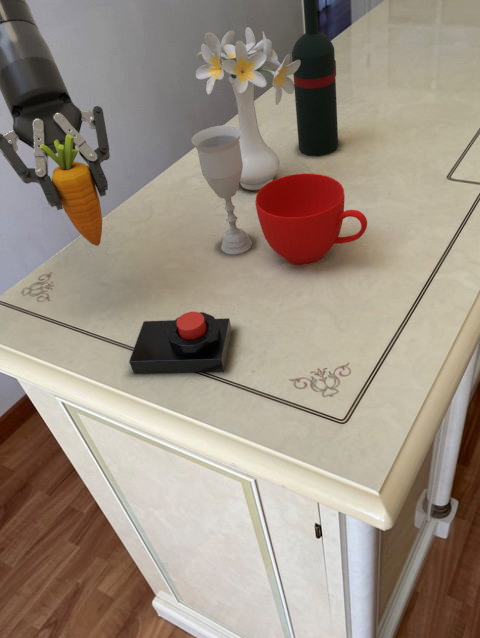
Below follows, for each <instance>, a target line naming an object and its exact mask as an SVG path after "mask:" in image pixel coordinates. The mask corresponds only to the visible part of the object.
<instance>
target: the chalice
mask: <svg viewBox="0 0 480 638" xmlns="http://www.w3.org/2000/svg"><path fill="white" fill-rule="evenodd" d="M240 135H241V130H240V127H238V126H235V125H229V124H228V125H225V124H224V125H216V126H211V127H207V128H205V129H202V130H199V131H198V132H196V133H195V134H194V135H193V136H192V137H191V143H192V145H193V146H194V147H195V149H196V152H197V155H198V158H199V159H198V160H199V165H200V169H201V173H202V177H204V180H205V181H206V182H207V183H206V184H208V186H209V188H211V190H212V191H213V192H214V194H215V195H216V196H217V197H218V199H219V198H220V199H224V203H225V207H224V211H225V212H226V213H227V217H226V219H225V221H226V222H228V224H229V229H228V230H226V232H225V233H224V235H223V237H222V241H221V246H220V248H221V251H222V252H223V253H225V254H227V255H240V254H243V253H245V252H247V251H248V250H250V249H251V247H252V246H253V241H252V240H251V239H250V238H249V236H248V235H247V233H246V231H244V230H243V228H239V227H237V225H236V224H237V220H238V217H237V216H236V214H235V213H234V211H235V208H236V207H235V205H234V204H233V202H232V197H234V196H235V195H236V194H237V191H238V188H239V185H240V179H241V174H242V168H243V163H242V156H241V150H240V144H239V141H240Z"/></svg>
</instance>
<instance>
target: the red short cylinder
mask: <svg viewBox="0 0 480 638" xmlns="http://www.w3.org/2000/svg"><path fill="white" fill-rule="evenodd" d="M178 317H179V318H178ZM178 317H177V318H178V319H177V318H176V319H177V322H176V324H177V328H178V331H179V334H180V336H181V337H182V338H184V339H186V340H190V339H196V338H199V337H201V336H203V335H204V334H205V332H206V330H207V327H206V323H205V319H204V316H203V315H202V314H201V313H199V312H198V311H188V312H184V313H183V314H181V315H180V316H178Z"/></svg>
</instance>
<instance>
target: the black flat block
mask: <svg viewBox="0 0 480 638" xmlns="http://www.w3.org/2000/svg"><path fill="white" fill-rule="evenodd" d="M199 313H201V314H202V315H203V316H204V319H205V323H206V327H207V330H206V332H205V334H204V335H203V336H201V337H199V338H196V339H190V340H186V339H184V338H182V337H181V336H180V334H179V331H178V328H177V324H176V322H177V319H178V318H179V317H180V316H178V317H177V318H175V319H171V320H167V319H166V320H144V321H143V322H142V325H141V328H140V329H139V330H140V331H139V332H138V335H137V339H136V341H135V345H134V347H133V350H132V352H131V356H130V359H129V361H128V363H129V365H130V368H131V370H132V372H133V374H176V373H177V374H178V373H182V374H183V373H215V372H216V373H217V372H220V373H222V372H225V369H226V368H225V367H226V363H227V358H228V352H229V348H230V342H231V337H232V332H233V328H232V325H231V320H230V318H229V317H228V318H227V317H226V318H215V316H213V315H211V314H208V313H206V312H203V311H201V312H199Z"/></svg>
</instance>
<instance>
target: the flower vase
mask: <svg viewBox="0 0 480 638" xmlns="http://www.w3.org/2000/svg"><path fill="white" fill-rule="evenodd" d="M244 33H245V42H246V44H245V43H244V42H243V41H242V40H237V41H236V42H235V45H233V44H232V43H233V41H234V39H235V35H236V33H235V31H234V30H232V29H231V30H229V31H227V32H226V33H225V34H224V36H223V37H222V39H221V41H220V40H219V38H218V37H217V35H215V34H214V33H213V32H212V31H211V32H206V33H205V34H204V41H205V43H202V44H201V45H200V46H201V47H200V51H199V52H198V53H197V54H196V55H195V59H196V60H197V61H204V62H205V63H206V64H203V65H201V66H199V67H198V68H197V69H196V71H195V77H196V79H198V80H206V79H207V81H206V86H205V89H206V93H207V94H206V95H211V94H212V92H213V90H214V87H215V86H216V84H217V81H218V80H219V81H222V80H223V79H224V76H225V72H226V73H227V74H229V75H228V81H229V83H230V85H231V87H232V90H233V93H234V98H235V102H236V107H237V114H238V123H239V124H238V125H239V129H240V130H241V135H240V139H239V144H240V150H241V156H242V163H243V168H242V174H241V179H240V182H239V185H240V187H242V188H243V189H245V190H247V191H259V190H260V189H261V188H262V187H263V186H265V185H266V184H268V183H269V182H271V181H273V180H274V177H276V175H277V174H278V172H279V170H280V165H281V164H280V162H281V161H280V158H279V156H278V154H277V153H276V151H275V150H274V149H272V148H271V147H270V146H269V145H267V144H266V142H265V141H264V138H263V137H262V135H261V132H260V128H259V123H258V117H257V113H256V106H255V94H254V93H255V92H254V91H255V90H254V89H255V86H256V87H257V88H266V87H267V85H268V82H267V79H266V77H264V75H263V74H262V73H260V72H265V73H268V74H270V75H272V76H273V79H272V82H271V83H272V87H273V88H274V98H275V101H274V102H275V105H277V106H278V105H280V103H281V101H282V96H283V91H284V92H285V93H287V94H288V95H293V93H295V89H294V80H292V78H290V77H289V76H292V75H293V74H294V73H295V72H296V71H297V69H298V68H299V66H300V63H301V61H300V60H297V61H295V62H290V61H291V54H290V53H287V54H286V55H285V57H284V58H283V60H282V62H281V63H280V62H279V60H278V59H279V58H278V54H277V52H276V51H275V49H274V48H273V42H272V40H271V39H268V38H267V37H266V34H265V32H264V31H262V39H261V40H260V41H258V42H257V43H256V36H255V33H254V32H253V30H252V29H251V28H250V27H248V26H247V27H246V28H245V32H244ZM274 70H275V71H274Z"/></svg>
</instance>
